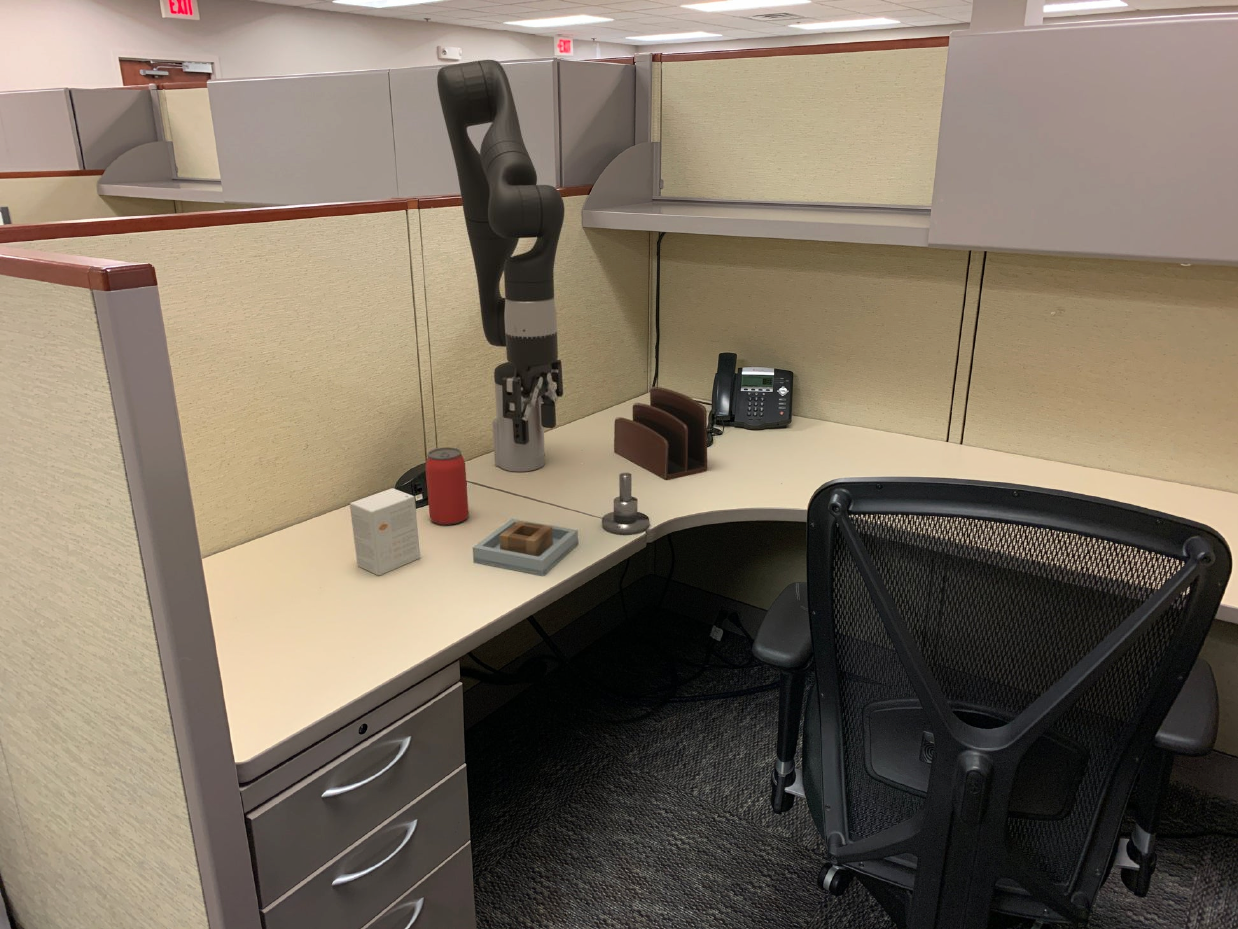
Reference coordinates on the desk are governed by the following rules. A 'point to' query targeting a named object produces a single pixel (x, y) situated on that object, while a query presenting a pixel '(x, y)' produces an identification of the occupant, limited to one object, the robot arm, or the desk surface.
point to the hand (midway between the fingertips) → (535, 435)
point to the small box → (385, 531)
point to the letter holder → (665, 435)
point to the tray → (538, 565)
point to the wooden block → (527, 538)
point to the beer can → (446, 486)
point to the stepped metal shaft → (625, 512)
